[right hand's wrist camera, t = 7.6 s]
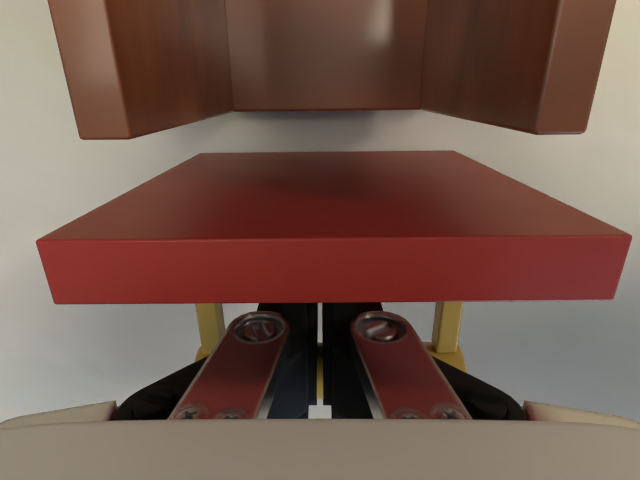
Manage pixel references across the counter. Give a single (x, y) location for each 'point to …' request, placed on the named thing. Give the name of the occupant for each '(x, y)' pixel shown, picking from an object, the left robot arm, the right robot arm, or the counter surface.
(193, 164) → the drawer
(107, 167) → the counter surface
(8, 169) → the counter surface
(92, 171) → the counter surface
